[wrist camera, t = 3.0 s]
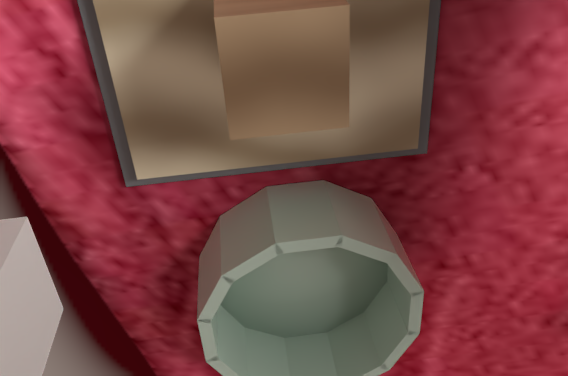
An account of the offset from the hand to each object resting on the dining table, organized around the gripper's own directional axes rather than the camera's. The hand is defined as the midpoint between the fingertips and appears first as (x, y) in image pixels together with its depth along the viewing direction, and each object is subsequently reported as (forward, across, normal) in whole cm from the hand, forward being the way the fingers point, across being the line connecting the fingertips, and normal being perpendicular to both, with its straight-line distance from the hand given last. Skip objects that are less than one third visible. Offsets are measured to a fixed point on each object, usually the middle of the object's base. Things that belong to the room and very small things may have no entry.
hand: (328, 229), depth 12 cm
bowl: (+20, +1, -18) cm, 27 cm away
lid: (+19, 0, 0) cm, 19 cm away
